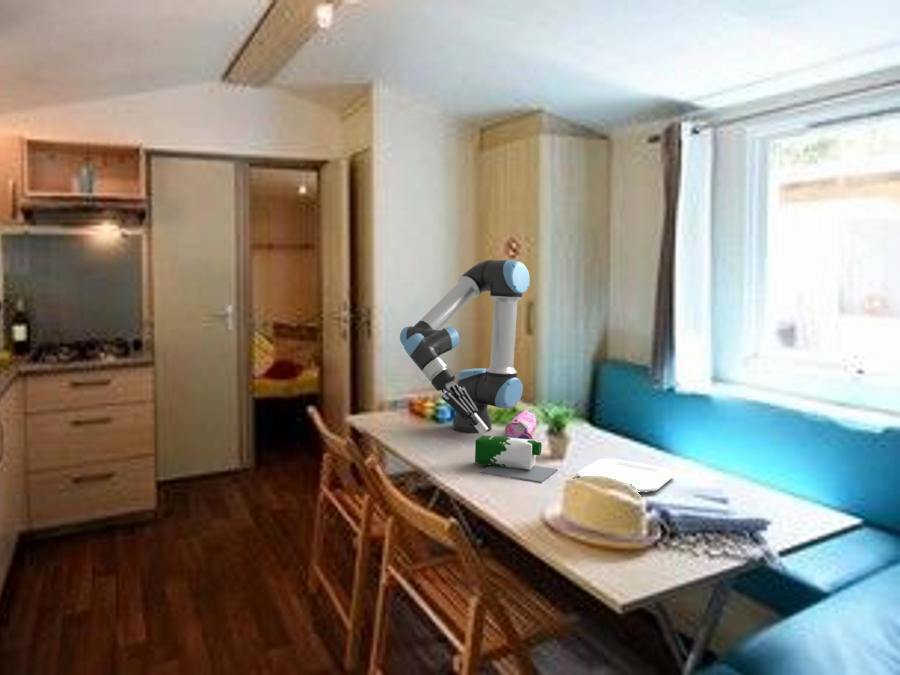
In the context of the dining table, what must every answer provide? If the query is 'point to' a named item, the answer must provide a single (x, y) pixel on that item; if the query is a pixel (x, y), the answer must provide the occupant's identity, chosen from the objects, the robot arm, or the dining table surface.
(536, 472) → the topple mat
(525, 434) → the rainbow cloud toy
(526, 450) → the fresh milk carton
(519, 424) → the pencil case
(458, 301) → the robot arm
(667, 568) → the dining table surface
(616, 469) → the plate
